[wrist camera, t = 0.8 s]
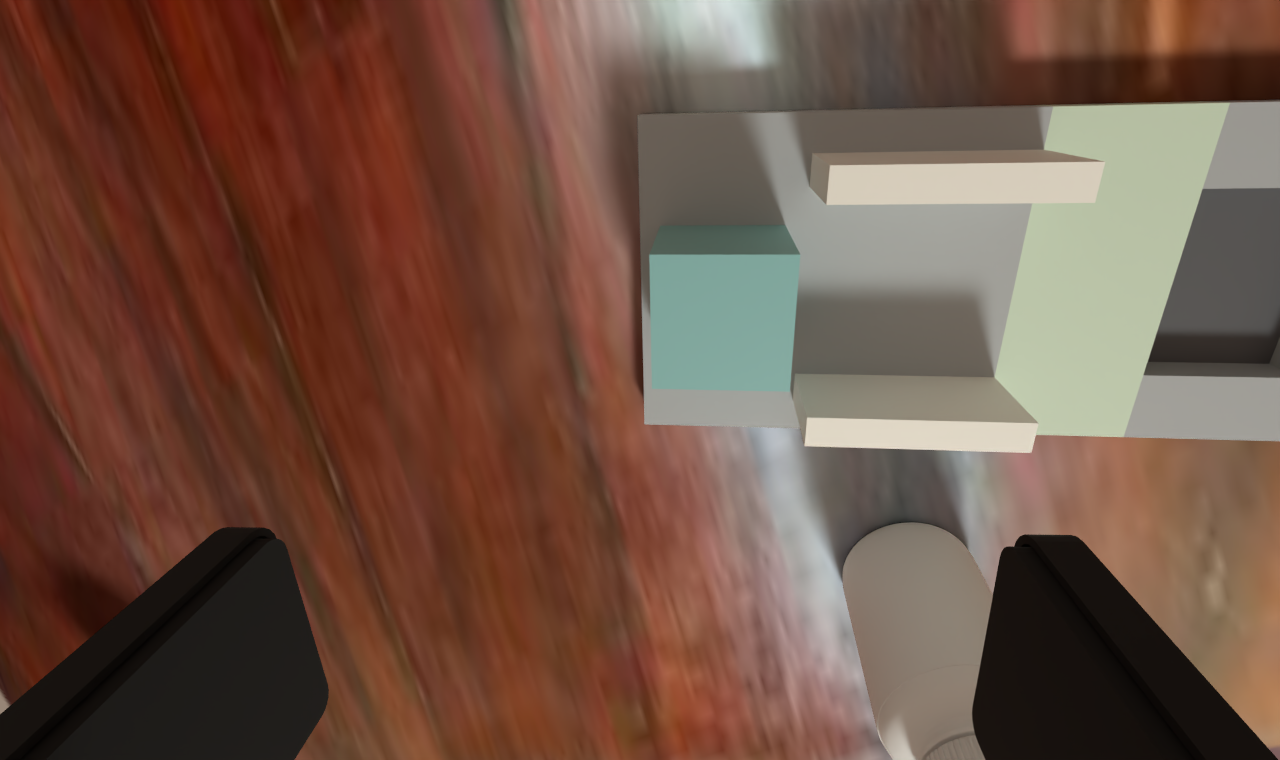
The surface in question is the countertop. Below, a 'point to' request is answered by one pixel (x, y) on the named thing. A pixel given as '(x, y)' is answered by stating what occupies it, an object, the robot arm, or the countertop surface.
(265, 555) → the robot arm
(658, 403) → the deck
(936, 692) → the pill bottle
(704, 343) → the teal block
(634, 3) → the countertop surface
